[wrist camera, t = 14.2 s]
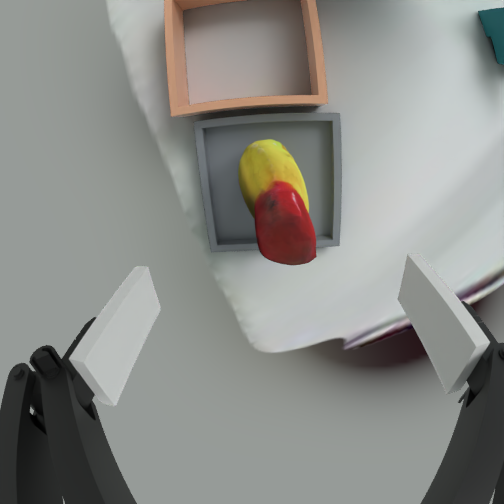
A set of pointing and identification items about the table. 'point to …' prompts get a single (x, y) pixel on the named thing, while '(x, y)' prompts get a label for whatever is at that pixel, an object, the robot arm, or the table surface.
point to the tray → (300, 148)
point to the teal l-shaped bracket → (494, 30)
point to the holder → (180, 106)
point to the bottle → (277, 203)
